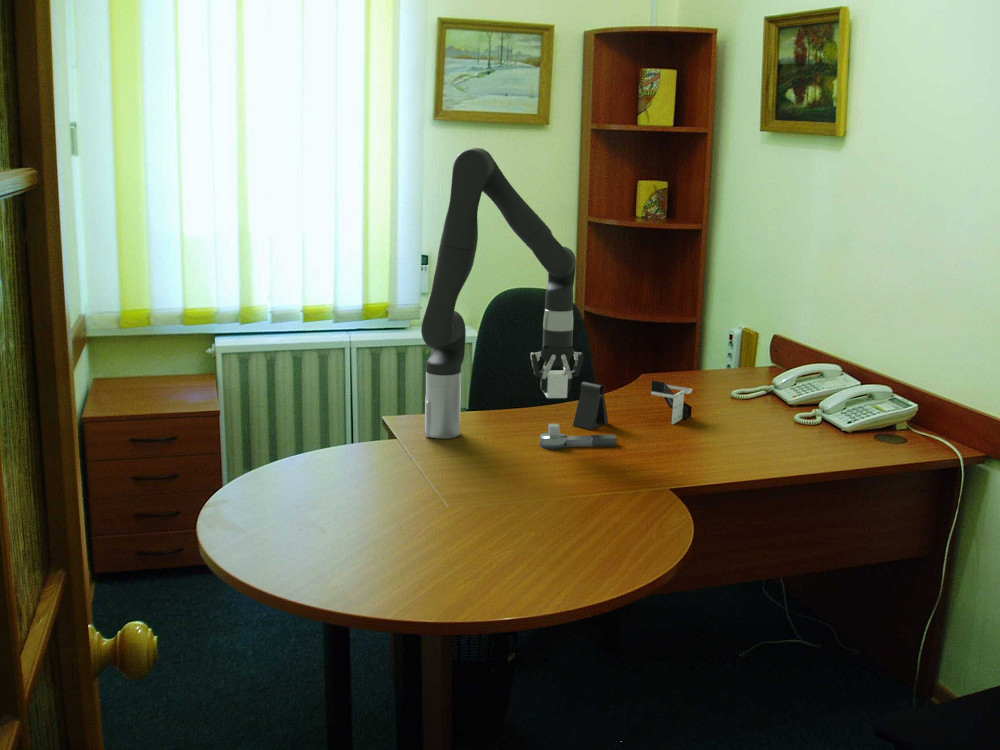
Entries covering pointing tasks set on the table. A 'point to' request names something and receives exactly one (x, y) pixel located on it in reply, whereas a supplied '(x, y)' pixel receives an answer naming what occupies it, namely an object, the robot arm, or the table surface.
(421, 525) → the table surface
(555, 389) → the small white cube
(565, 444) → the ratchet
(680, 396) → the two-tone angle bracket
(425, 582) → the table surface
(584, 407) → the dark folded stand
